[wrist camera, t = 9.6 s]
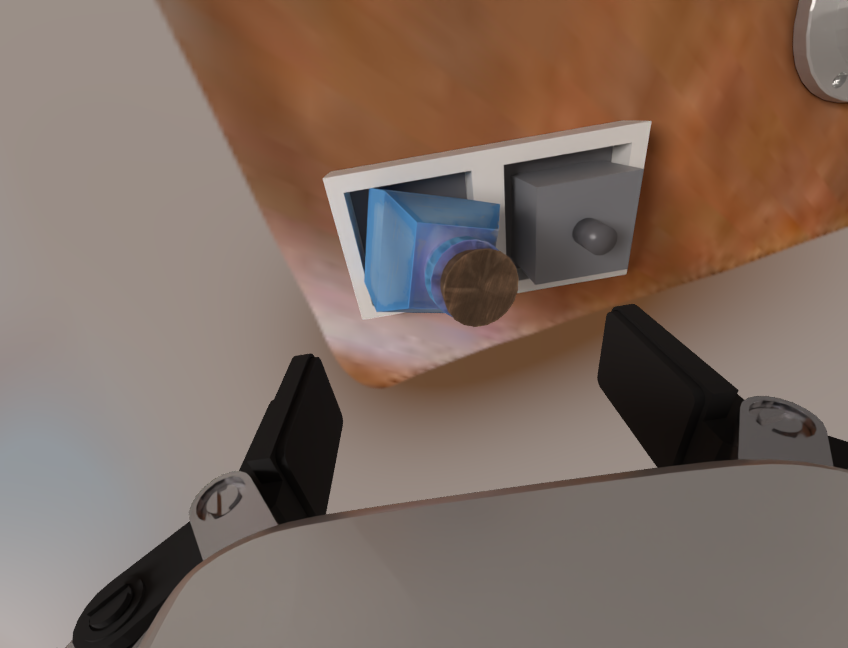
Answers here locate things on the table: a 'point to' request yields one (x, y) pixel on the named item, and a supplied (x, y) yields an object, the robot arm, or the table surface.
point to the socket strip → (474, 186)
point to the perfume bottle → (437, 257)
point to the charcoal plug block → (574, 219)
